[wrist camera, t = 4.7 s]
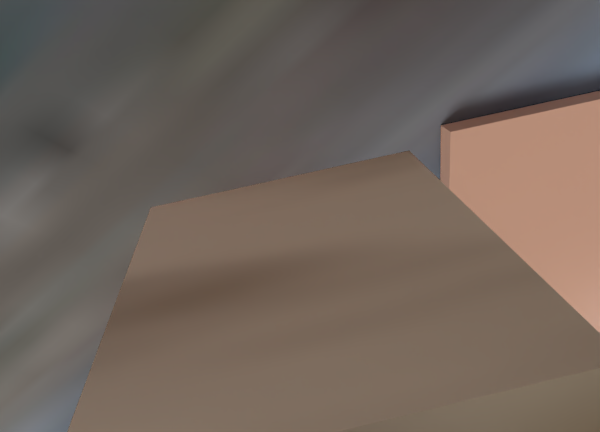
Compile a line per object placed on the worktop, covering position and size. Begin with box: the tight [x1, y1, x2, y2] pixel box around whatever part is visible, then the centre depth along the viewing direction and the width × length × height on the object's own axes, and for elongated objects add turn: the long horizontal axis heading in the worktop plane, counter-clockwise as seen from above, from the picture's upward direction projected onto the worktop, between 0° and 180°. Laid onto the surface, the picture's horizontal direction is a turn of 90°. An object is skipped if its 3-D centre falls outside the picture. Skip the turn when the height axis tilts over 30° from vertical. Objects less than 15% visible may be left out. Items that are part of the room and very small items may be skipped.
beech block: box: [67, 151, 600, 432], centre depth 7 cm, size 5×5×5 cm
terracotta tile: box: [440, 91, 600, 333], centre depth 19 cm, size 16×13×1 cm
